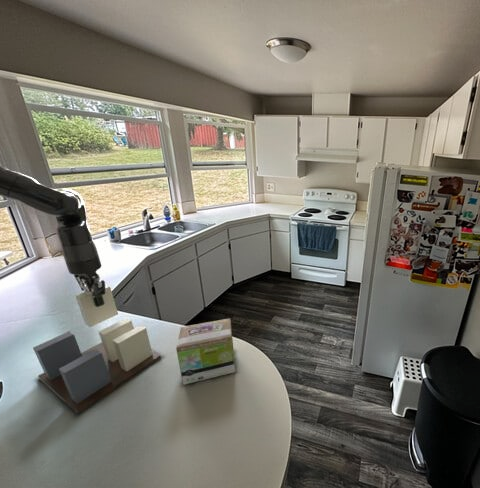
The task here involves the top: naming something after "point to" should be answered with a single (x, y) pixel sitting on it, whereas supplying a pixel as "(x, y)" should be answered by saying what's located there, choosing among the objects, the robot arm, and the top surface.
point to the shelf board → (117, 380)
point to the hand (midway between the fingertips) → (97, 303)
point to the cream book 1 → (93, 313)
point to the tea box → (205, 350)
